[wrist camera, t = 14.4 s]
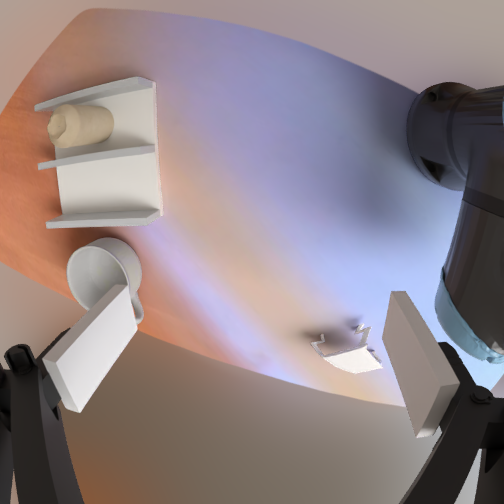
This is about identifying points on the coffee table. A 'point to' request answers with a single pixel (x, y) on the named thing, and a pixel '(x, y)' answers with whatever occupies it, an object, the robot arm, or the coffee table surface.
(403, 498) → the robot arm
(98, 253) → the teacup
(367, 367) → the origami figure
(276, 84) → the coffee table surface
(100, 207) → the slot rack
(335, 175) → the coffee table surface
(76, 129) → the candle
